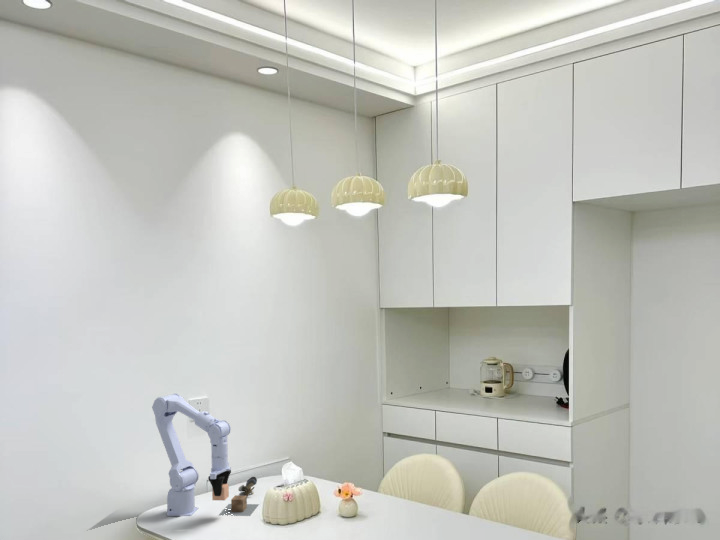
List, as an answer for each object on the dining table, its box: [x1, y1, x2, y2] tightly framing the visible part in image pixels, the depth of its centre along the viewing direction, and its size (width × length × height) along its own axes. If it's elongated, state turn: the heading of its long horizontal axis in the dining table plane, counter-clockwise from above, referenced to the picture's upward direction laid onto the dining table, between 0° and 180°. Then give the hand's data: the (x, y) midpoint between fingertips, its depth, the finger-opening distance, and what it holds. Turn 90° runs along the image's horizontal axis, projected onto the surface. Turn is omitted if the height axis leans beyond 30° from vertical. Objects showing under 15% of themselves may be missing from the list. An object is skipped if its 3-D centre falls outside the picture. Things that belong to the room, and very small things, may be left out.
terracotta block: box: [211, 483, 230, 501], centre depth 220 cm, size 4×4×4 cm
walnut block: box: [230, 494, 248, 512], centre depth 227 cm, size 4×4×4 cm
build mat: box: [218, 503, 260, 517], centre depth 227 cm, size 12×12×1 cm
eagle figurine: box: [238, 476, 258, 497], centre depth 245 cm, size 8×7×9 cm
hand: (220, 493), depth 220 cm, fingers closed on terracotta block, 4 cm apart
